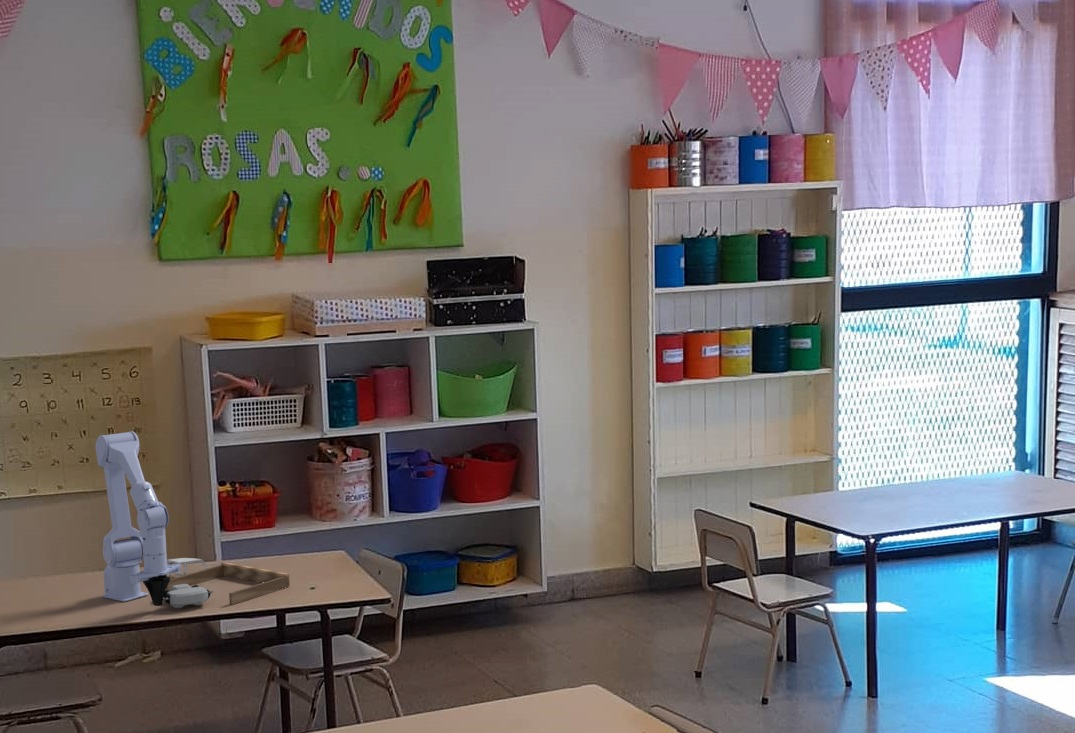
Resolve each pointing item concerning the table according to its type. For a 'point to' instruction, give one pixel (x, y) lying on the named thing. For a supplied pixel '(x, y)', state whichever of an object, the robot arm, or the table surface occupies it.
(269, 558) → the table surface
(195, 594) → the robot toy
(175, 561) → the origami figure
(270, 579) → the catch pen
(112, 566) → the robot arm
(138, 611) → the table surface
